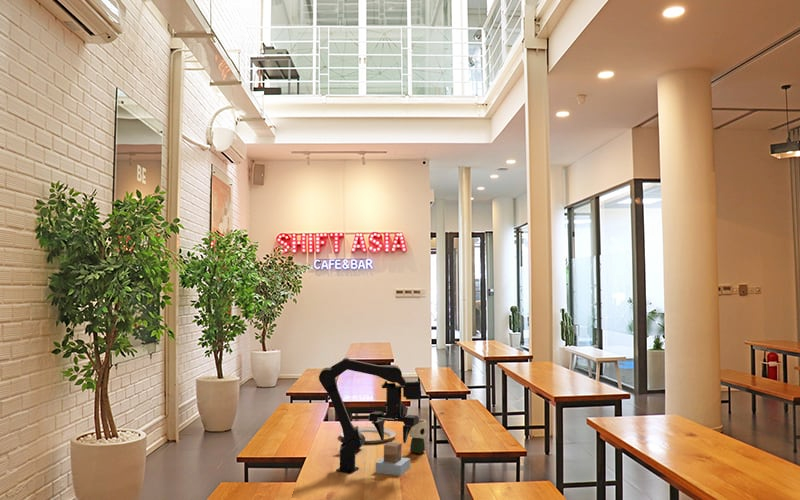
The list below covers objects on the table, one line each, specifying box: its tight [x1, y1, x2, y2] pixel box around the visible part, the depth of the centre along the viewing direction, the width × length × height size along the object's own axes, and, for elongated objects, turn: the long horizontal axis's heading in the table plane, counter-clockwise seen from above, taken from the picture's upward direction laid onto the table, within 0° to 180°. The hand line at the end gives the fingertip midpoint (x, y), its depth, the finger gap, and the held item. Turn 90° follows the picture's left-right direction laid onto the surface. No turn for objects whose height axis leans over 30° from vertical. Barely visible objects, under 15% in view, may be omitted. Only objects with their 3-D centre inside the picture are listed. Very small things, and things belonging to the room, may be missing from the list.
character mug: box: [408, 418, 427, 454], centre depth 257 cm, size 11×7×13 cm, turn 155°
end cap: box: [340, 432, 366, 448], centre depth 259 cm, size 10×7×7 cm
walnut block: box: [383, 441, 403, 463], centre depth 233 cm, size 5×5×6 cm
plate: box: [339, 426, 397, 444], centre depth 281 cm, size 26×26×2 cm
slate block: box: [375, 456, 411, 477], centre depth 233 cm, size 10×10×4 cm
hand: (393, 441), depth 234 cm, fingers open, 9 cm apart
